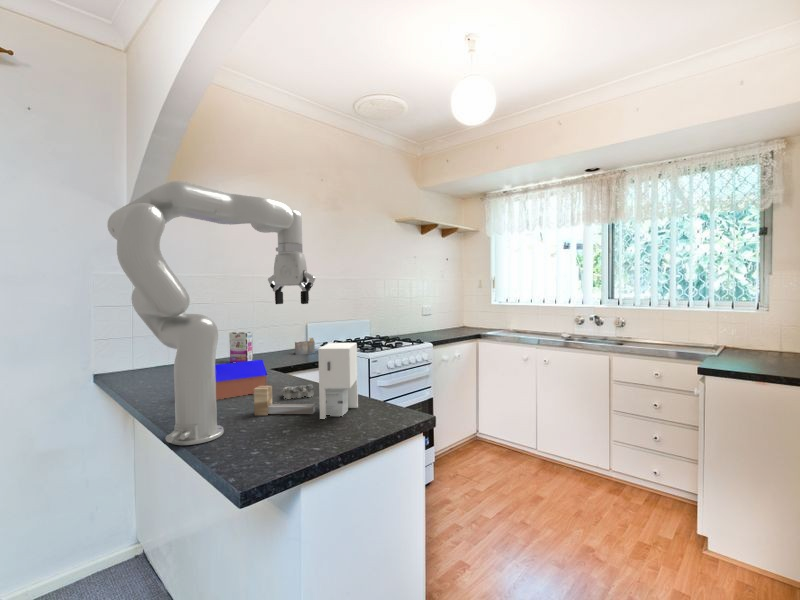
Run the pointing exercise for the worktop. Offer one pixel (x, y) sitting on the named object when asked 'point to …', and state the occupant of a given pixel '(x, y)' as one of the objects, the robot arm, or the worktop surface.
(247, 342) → the candy bar box
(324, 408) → the cabinet
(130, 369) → the worktop surface
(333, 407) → the skincare box
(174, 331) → the robot arm
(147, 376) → the worktop surface
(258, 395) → the push stick
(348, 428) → the worktop surface
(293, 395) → the egg carton
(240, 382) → the house
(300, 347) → the ruin model on sheet
